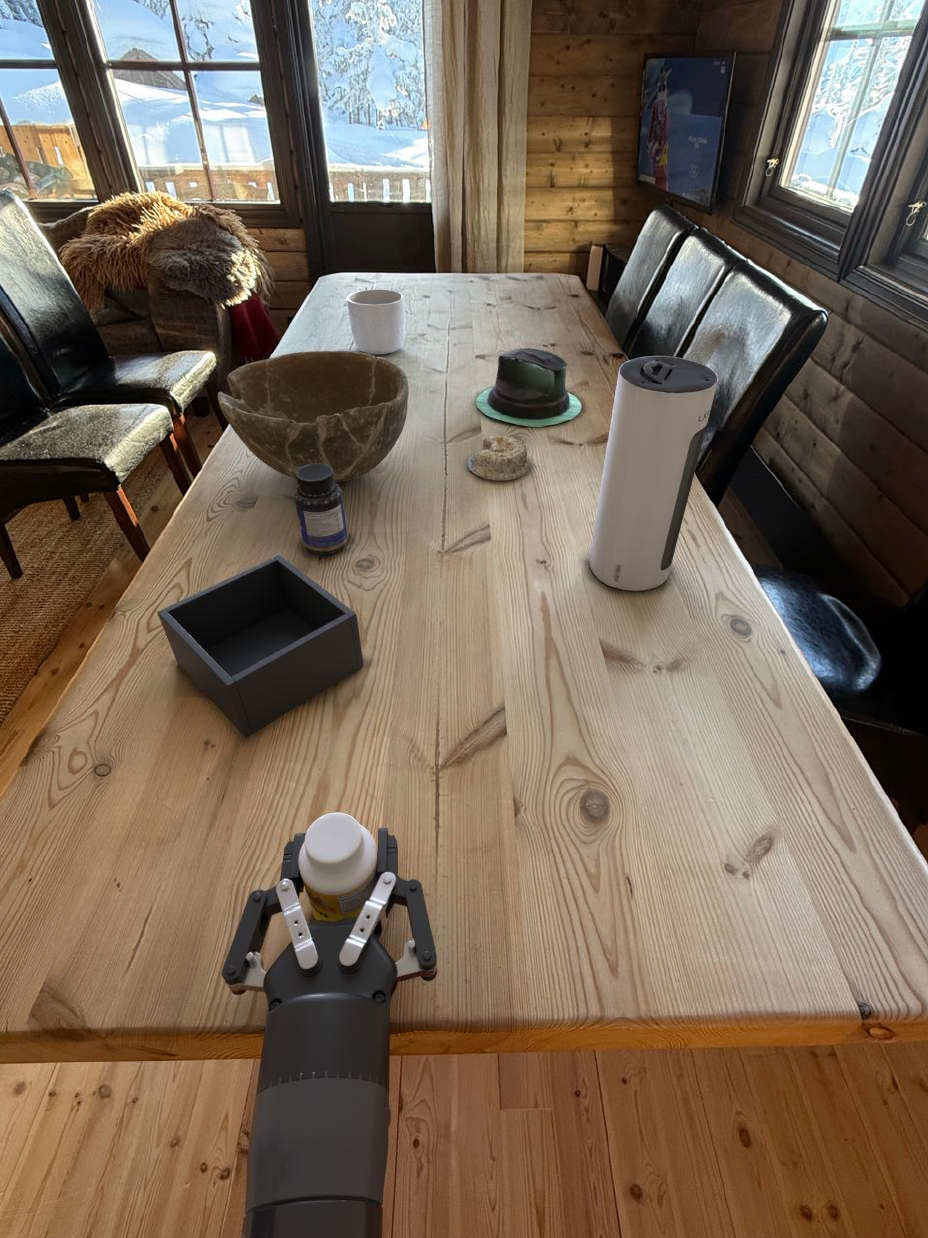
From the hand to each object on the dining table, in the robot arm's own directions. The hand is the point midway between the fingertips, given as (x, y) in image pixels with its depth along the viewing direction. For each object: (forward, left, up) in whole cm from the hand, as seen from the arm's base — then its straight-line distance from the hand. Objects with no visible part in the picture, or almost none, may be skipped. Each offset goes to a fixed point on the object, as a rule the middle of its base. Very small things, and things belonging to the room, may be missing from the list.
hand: (342, 837), depth 50 cm
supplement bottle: (-2, -2, -6) cm, 7 cm away
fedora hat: (+81, +53, -6) cm, 97 cm away
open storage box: (+8, +26, -6) cm, 28 cm away
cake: (+59, +40, -6) cm, 72 cm away
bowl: (+38, +58, -6) cm, 70 cm away
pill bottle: (+26, +41, -6) cm, 49 cm away
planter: (+80, +97, -6) cm, 126 cm away
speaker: (+51, +9, -6) cm, 53 cm away
